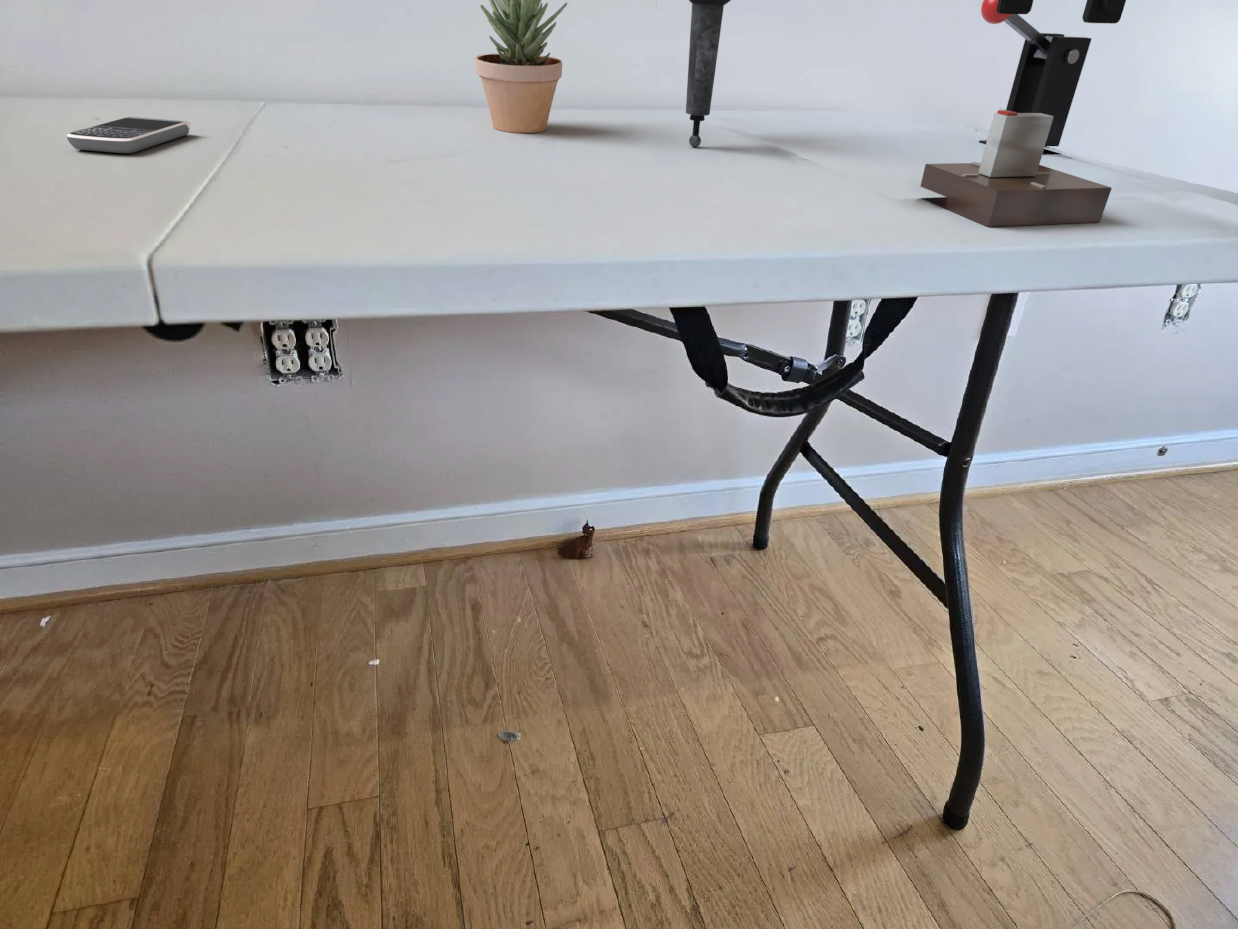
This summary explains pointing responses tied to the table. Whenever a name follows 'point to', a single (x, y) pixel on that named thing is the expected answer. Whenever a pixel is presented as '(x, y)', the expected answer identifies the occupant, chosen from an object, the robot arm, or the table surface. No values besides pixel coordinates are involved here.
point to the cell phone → (128, 134)
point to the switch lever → (1018, 28)
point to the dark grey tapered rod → (702, 60)
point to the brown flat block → (1015, 196)
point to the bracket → (1049, 82)
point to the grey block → (1015, 144)
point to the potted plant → (519, 67)
